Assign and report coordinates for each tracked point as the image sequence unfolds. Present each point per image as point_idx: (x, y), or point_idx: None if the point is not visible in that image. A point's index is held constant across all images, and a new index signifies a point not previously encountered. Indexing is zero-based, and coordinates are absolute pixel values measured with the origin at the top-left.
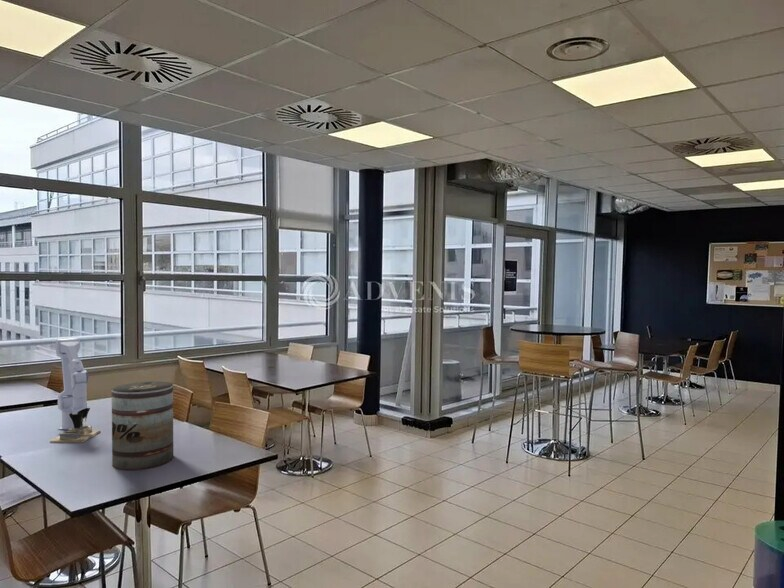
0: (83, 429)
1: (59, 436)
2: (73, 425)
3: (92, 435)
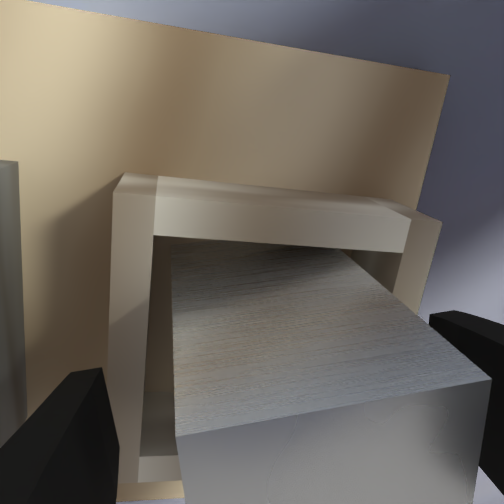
0: (139, 466)
1: (49, 32)
2: (175, 326)
3: (148, 489)
